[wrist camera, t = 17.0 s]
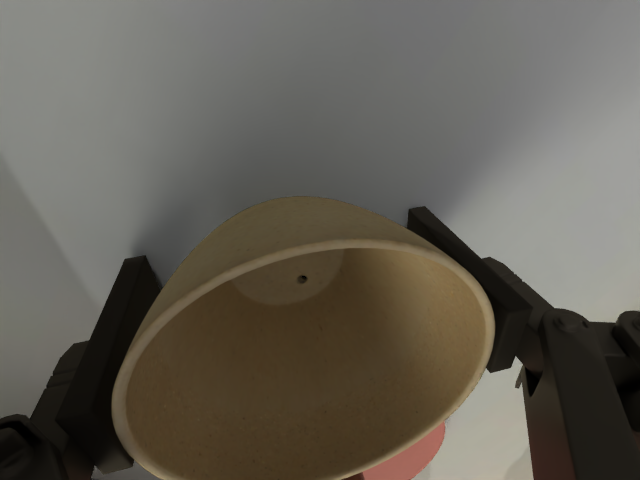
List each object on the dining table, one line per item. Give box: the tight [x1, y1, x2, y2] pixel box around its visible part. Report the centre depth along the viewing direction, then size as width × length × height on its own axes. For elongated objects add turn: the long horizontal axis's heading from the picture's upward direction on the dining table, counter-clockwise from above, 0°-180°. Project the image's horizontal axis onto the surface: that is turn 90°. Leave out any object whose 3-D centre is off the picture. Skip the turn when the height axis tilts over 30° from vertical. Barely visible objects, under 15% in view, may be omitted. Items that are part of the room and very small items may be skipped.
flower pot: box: [112, 196, 495, 480], centre depth 12 cm, size 10×10×7 cm
